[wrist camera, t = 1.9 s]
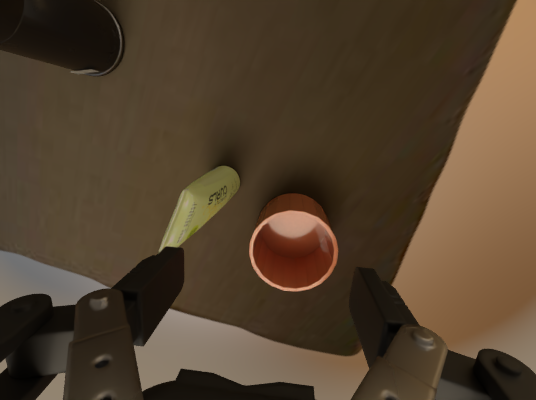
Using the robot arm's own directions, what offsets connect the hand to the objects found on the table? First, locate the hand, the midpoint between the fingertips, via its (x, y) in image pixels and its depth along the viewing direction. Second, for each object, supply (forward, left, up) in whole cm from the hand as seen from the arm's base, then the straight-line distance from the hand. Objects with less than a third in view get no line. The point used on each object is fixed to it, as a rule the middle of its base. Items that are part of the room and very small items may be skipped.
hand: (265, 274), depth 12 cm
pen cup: (+5, -7, -28) cm, 30 cm away
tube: (-8, -5, -29) cm, 30 cm away
